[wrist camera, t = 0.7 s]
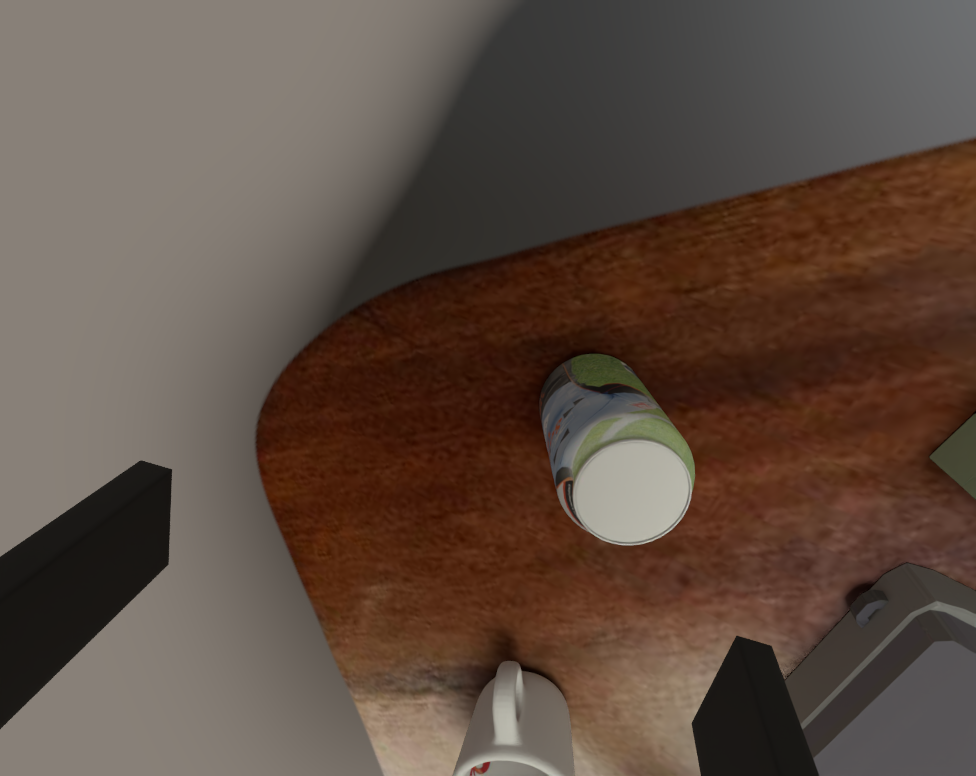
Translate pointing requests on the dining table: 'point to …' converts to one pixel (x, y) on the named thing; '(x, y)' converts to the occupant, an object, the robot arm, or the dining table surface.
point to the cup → (518, 728)
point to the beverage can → (614, 451)
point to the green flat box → (960, 456)
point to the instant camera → (894, 681)
